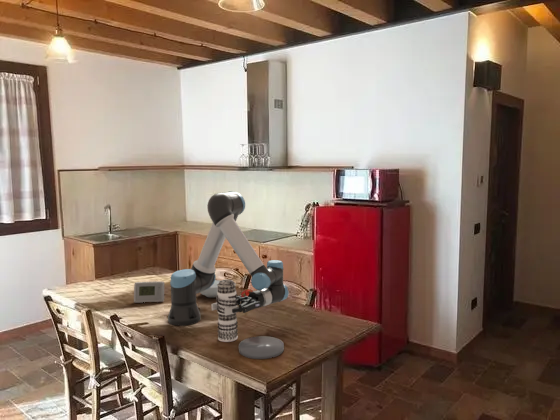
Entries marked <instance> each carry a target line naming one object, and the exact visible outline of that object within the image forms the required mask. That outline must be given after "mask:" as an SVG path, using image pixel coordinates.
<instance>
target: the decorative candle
mask: <svg viewBox="0 0 560 420" xmlns="http://www.w3.org/2000/svg"><path fill="white" fill-rule="evenodd" d="M217 286H218V292H217V296H216V297H215V299H216V301H215V303H218V304H217V310H216V311H217V312H216V313H218V315H217V316H218V318H217V340H218V341H220V342H223V343H230V342H234V341H236V340H238V338H239V336H238V335H239V333H238V330H239V329H238V318H237V313H234V314H230V315H227V316H225V314H224V309H226V308H230V307H233V306H239V305H238V303H236V302H237V301H238V300H237V299H236V297H238V296H239V295H238V294H237V289H236V286H237V283H236V282H235V281H234V280H233V279H230V278H229V279H227V278H225V279H221V281H220V282H219V283H218V284H217Z"/></svg>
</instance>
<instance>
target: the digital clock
mask: <svg viewBox="0 0 560 420" xmlns="http://www.w3.org/2000/svg"><path fill="white" fill-rule="evenodd" d="M133 285H134V286H133V303H135V304H137V303H138V304H139V303H140V304H146V303H145V302H157V303H162V302H165V282H164V281H161V280H160V281H137V282H134V284H133ZM143 302H144V303H143Z"/></svg>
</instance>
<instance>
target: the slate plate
mask: <svg viewBox="0 0 560 420" xmlns="http://www.w3.org/2000/svg"><path fill="white" fill-rule="evenodd" d="M238 343H239V344H238V353H239V354H240V355H241V356H243V357H245V358H248V359H253V360H267V359H273V358H276V357H278V356H280V355H281V354H282V353H283V352H284V351H285V349H284V347H285V344H284V341H282V340H281V339H279V338H278V337H273V336H265V335H259V336H258V335H257V336H251V337H247V338H245V339H243V340H241V341H240V342H238ZM272 357H273V358H272Z"/></svg>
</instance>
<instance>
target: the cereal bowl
mask: <svg viewBox="0 0 560 420" xmlns="http://www.w3.org/2000/svg"><path fill="white" fill-rule="evenodd" d="M221 280H222V279H221ZM221 280H219V279H215V282H214V284H213V285H212V286H211V287H210V288H208V289H207V290H204V291H202V292H200V294H201V295H203V296H205V297H207V298H216V296H217V292H218V286H217V284H218V283H219V282H220V281H221Z"/></svg>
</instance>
